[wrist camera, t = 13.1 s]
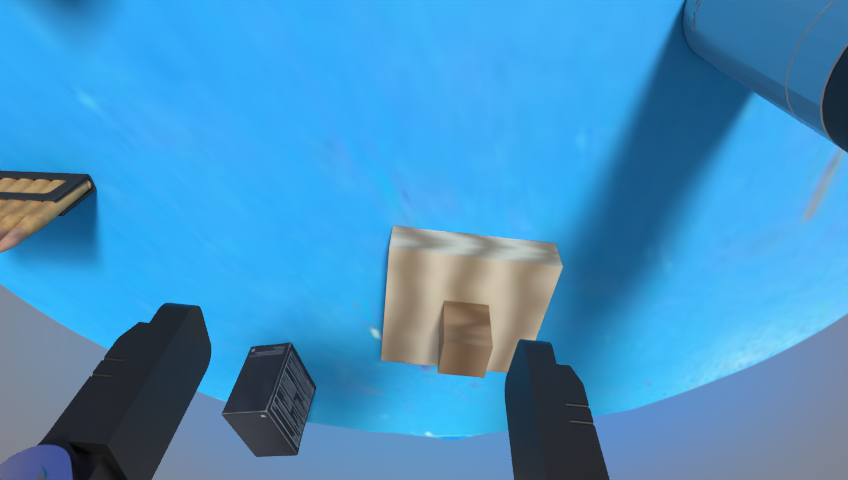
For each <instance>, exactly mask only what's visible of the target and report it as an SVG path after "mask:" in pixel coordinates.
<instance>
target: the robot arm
mask: <svg viewBox="0 0 848 480" xmlns="http://www.w3.org/2000/svg"><path fill="white" fill-rule="evenodd" d="M683 28H684V35H685V37H686V40H687V43H688V45H689V46H690V47H691V49H692V50H693V51H694V52H695V53H696V54H697V55H699V56H700V57H701V58H703V59H704V60H706V61H707V62H709V63H710V64H712V65H714V66H715V67H717V68H718V69H719V70H721V71H722V72H724V73H725V74H727V75H728V76H730V77H732V78H733V79H735V80H736V81H738V82H739V83H741V84H742V85H744V86H745V87H747V88H749V89H750V90H752V91H753V92H755V93H756V94H758V95H759V96H761V97H762V98H764V99H766V100H767V101H769V102H770V103H772V104H773V105H775V106H776V107H778V108H779V109H781V110H782V111H784V112H786V113H787V114H789V115H790V116H792V117H793V118H795V119H796V120H798V121H799V122H801V123H803V124H805V125H806V126H808V127H809V128H811V129H812V130H814V131H815V132H817V133H819V134H820V135H822V136H823V137H825V138H826V139H828V140H829V141H831V142H832V143H834V144H836V145H837V146H839V147H840V148H842V149H843V150H845V151H846V152H848V0H687V1H686V5H685V8H684V16H683ZM210 358H211V343H210V340H209V336H208V332H207V328H206V325H205V321H204V317H203V314H202V310H201V308H200V307H199V306H195V305H185V304H175V303H165V304H163V305H162V306H161V307H160V308H159V310H158V311H157V313H156V314H155V315H154V317H153V318H152V320H151V321H150V323H143V322H139V323H137V324H136V325H135V326H133V327H132V328H131V329H129V330H128V331H127V332H125V333H124V334H123V335H121V336H120V337H119V338H118V339H117V340H116V342H115V343H114V344H113V346H112V347H111V348H110V350H109V351H108V353H107V354H106V355H105V358H104V360H103V361H101V362H100V363H99V365H98V366H97V368H96V369H95V370H94V371H93V375H92V377H89V378H88V380H87V381H86V382H85V384H84V385H83V386H82V388H81V389H80V390H79V392H78V393H77V395H76V396H75V397H74V399H73V400H72V401H71V403H70V404H69V406H68V407H67V408H66V409H65V411H64V412H63V414H62V415H61V416H60V417H59V419H58V420H57V422H56V423H55V424H54V426H53V427H52V428H51V430H50V431H49V433H48V434H47V435H46V436H45V437H44V439H43V440H42V441H41V442H40V443H39V444H38V445H37V446H34V447H31V448H28V449H25V450H23V451H21V452H18V453H16V454H15V455H13V456H11V457H9V458H8V459H7V460H5V461H4V462H2V463H1V464H0V480H151V479H152V478H153V476H154V474H155V471H156V470H157V468H158V465H159V464H160V462H161V460H162V458H163V456H164V454H165V452H166V450H167V448H168V446H169V444H170V442H171V440H172V438H173V436H174V434H175V432H176V430H177V428H178V426H179V424H180V422H181V420H182V418H183V416H184V414H185V411H186V410H187V408H188V406H189V404H190V402H191V400H192V398H193V396H194V394H195V392H196V390H197V388H198V386H199V384H200V382H201V380H202V378H203V376H204V374H205V372H206V370H207V368H208V365H209V362H210ZM505 404H506V412H507V421H508V430H509V438H510V447H511V456H512V465H513V473H514V480H609V476H608V473H607V469H606V465H605V462H604V458H603V455H602V451H601V448H600V444H599V440H598V437H597V433H596V429H595V426H593V418H592V415H591V411H590V409H589V408H588V406H589V404H588V400H587V397H586V393H585V389H584V386H583V383H582V382H581V381H580V379H579V378H578V376H577V375H576V374H575V372H574V371H573V369H572V368H571V366H568V365H558V364H556V360H555V356H554V351H553V347H552V345H551V343H550V342H544V341H534V340H524V339H520V340H519V341H518V343H517V346H516V349H515V352H514V355H513V358H512V361H511V364H510V367H509V370H508V373H507V376H506V382H505Z"/></svg>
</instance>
